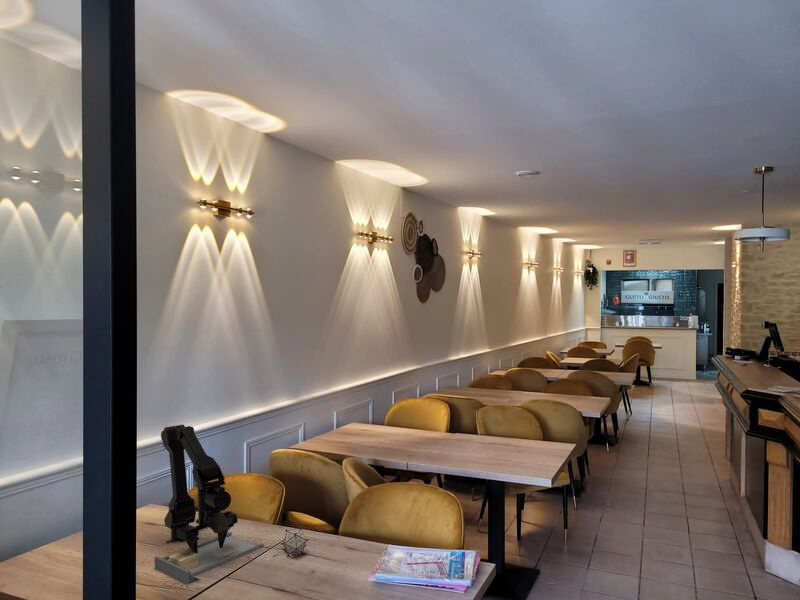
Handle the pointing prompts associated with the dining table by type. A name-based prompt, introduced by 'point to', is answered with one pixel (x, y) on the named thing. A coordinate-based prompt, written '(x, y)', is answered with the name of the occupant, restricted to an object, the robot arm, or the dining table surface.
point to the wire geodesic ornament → (294, 542)
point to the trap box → (206, 557)
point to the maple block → (185, 559)
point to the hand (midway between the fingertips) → (208, 552)
